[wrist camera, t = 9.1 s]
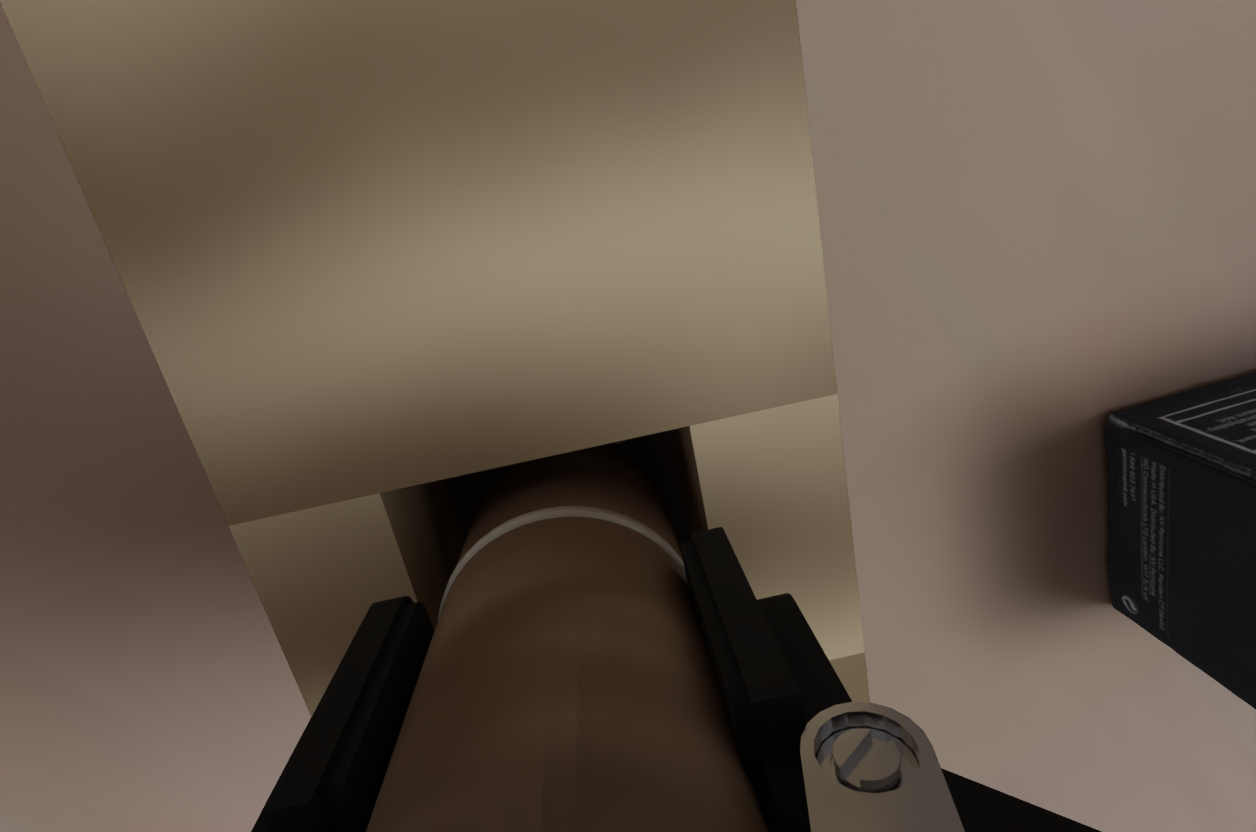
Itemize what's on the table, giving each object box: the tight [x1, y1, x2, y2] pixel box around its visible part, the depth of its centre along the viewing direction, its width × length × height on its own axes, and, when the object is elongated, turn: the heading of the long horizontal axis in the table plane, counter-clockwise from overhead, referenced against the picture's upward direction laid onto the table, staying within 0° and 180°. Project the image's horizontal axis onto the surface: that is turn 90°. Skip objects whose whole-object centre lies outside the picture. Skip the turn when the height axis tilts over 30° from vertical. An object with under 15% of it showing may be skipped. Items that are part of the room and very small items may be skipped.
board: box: [0, 0, 870, 716], centre depth 12 cm, size 20×11×4 cm, turn 12°
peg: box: [366, 442, 768, 832], centre depth 9 cm, size 4×4×12 cm
